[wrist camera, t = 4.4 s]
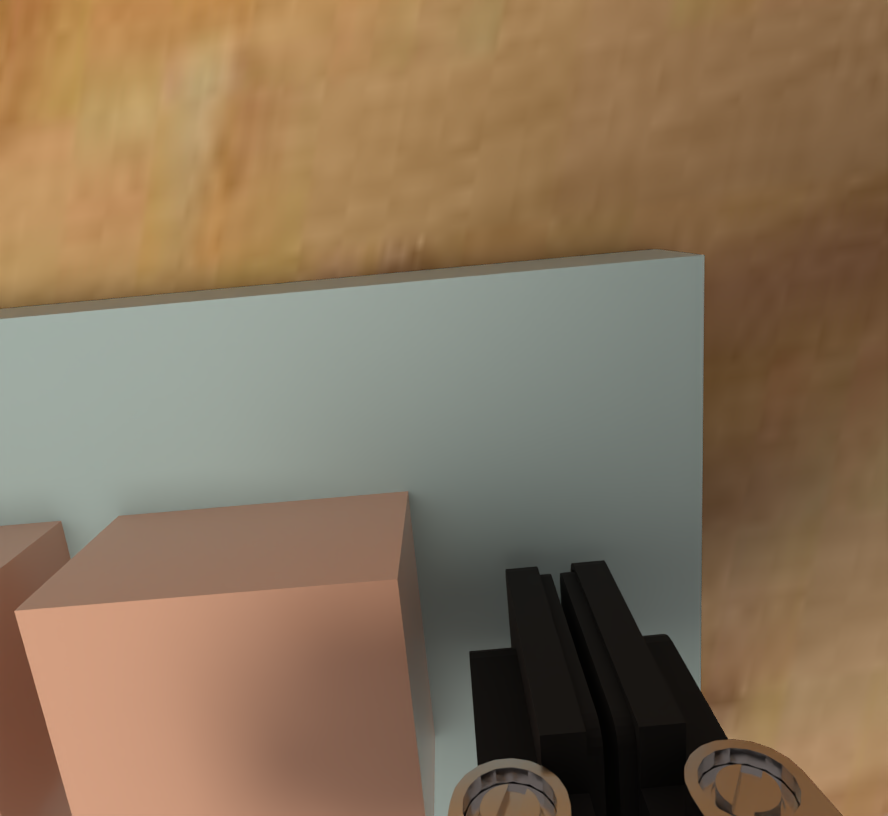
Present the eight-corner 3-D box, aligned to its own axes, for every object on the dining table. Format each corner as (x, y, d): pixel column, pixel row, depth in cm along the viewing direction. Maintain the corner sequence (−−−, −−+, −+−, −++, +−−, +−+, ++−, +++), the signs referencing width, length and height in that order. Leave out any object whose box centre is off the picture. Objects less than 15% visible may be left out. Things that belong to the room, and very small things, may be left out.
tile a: (408, 490, 12) (397, 579, 9) (435, 736, 13) (433, 884, 10) (118, 515, 12) (14, 610, 9) (173, 757, 13) (98, 909, 10)
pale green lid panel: (655, 248, 13) (704, 254, 11) (660, 768, 16) (698, 863, 14) (-364, 342, 14) (-540, 368, 11) (-169, 832, 17) (-272, 935, 14)
